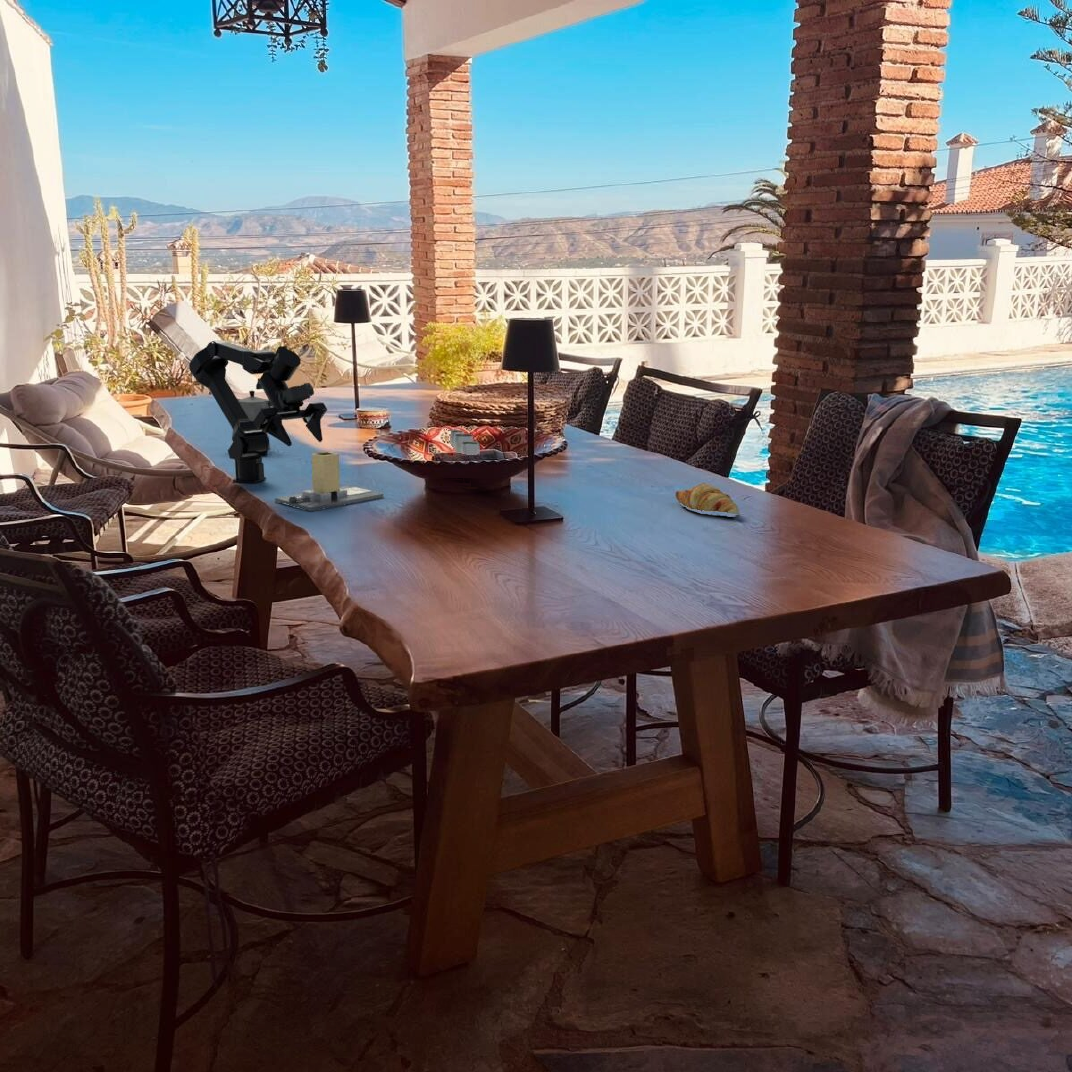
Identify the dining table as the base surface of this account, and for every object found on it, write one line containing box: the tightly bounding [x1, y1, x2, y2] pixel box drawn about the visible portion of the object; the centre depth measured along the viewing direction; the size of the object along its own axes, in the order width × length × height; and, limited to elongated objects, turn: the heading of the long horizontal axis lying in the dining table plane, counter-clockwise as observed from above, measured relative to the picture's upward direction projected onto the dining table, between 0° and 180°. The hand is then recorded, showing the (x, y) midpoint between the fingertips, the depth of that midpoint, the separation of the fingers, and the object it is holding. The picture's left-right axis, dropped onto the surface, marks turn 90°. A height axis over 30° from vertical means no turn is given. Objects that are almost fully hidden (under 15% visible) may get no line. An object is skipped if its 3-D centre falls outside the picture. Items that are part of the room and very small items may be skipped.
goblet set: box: [446, 428, 481, 455], centre depth 279 cm, size 28×6×13 cm, turn 22°
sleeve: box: [311, 451, 341, 493], centre depth 251 cm, size 5×5×9 cm
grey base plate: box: [274, 484, 384, 512], centre depth 253 cm, size 14×23×7 cm, turn 138°
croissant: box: [675, 483, 740, 514], centre depth 248 cm, size 21×10×8 cm, turn 35°
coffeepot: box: [237, 390, 271, 450], centre depth 319 cm, size 15×9×18 cm, turn 103°
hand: (306, 443), depth 255 cm, fingers open, 9 cm apart
